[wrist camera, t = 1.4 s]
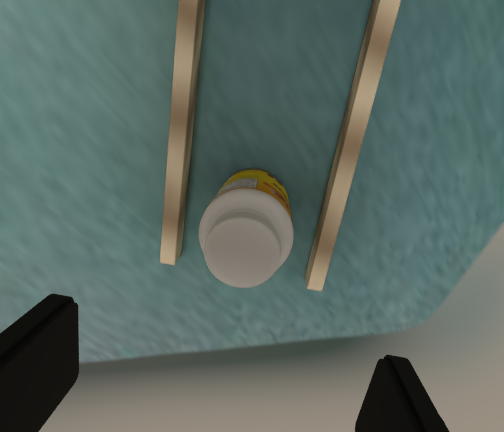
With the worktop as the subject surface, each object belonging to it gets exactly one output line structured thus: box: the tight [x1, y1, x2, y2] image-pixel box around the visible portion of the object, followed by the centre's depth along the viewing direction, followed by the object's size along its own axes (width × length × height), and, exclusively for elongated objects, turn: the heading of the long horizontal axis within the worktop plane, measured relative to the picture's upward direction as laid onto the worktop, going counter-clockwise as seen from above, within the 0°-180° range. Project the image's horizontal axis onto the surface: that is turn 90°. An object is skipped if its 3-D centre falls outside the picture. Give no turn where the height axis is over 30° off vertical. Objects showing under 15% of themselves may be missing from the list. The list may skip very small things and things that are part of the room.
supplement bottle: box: [199, 168, 294, 288], centre depth 21 cm, size 6×6×10 cm
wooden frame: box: [160, 0, 401, 291], centre depth 22 cm, size 24×13×4 cm, turn 171°
